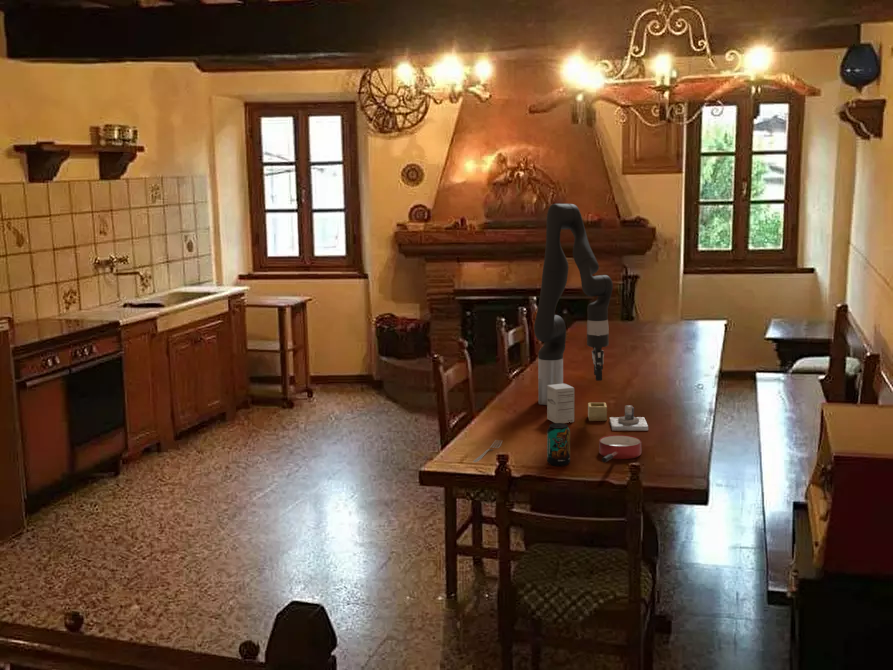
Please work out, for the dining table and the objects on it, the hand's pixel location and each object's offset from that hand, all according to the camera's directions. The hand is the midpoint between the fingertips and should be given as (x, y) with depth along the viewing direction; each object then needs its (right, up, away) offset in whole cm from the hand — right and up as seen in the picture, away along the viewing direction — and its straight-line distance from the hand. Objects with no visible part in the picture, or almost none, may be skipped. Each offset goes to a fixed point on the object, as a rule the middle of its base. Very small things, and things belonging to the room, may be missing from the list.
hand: (598, 377), depth 360 cm
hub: (0, -15, +3) cm, 15 cm away
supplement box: (-13, -15, +1) cm, 20 cm away
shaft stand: (+9, -16, -8) cm, 20 cm away
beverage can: (-19, -24, -48) cm, 57 cm away
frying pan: (-1, -24, -48) cm, 54 cm away
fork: (-41, -23, -36) cm, 59 cm away
